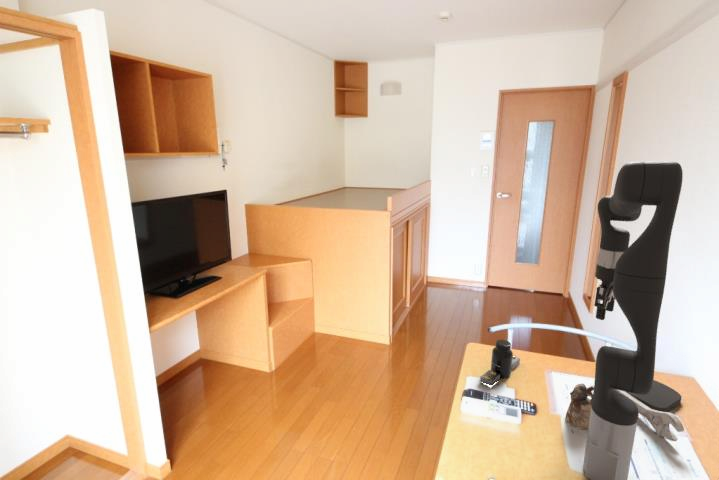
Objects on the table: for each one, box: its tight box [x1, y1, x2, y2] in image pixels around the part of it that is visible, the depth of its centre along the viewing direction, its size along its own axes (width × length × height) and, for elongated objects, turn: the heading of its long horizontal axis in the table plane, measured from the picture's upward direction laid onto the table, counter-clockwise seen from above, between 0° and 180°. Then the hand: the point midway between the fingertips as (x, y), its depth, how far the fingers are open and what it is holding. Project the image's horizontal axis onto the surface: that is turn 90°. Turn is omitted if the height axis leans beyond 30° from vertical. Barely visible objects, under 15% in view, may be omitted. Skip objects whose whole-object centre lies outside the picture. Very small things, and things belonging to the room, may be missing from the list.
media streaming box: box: [625, 379, 682, 412], centre depth 126 cm, size 15×15×3 cm
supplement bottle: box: [490, 339, 514, 379], centre depth 139 cm, size 7×7×12 cm
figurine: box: [564, 383, 594, 430], centre depth 114 cm, size 7×7×12 cm
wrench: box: [614, 389, 685, 442], centre depth 118 cm, size 8×2×30 cm
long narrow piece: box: [479, 354, 521, 385], centre depth 140 cm, size 21×4×3 cm, turn 134°
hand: (604, 314), depth 120 cm, fingers open, 8 cm apart
